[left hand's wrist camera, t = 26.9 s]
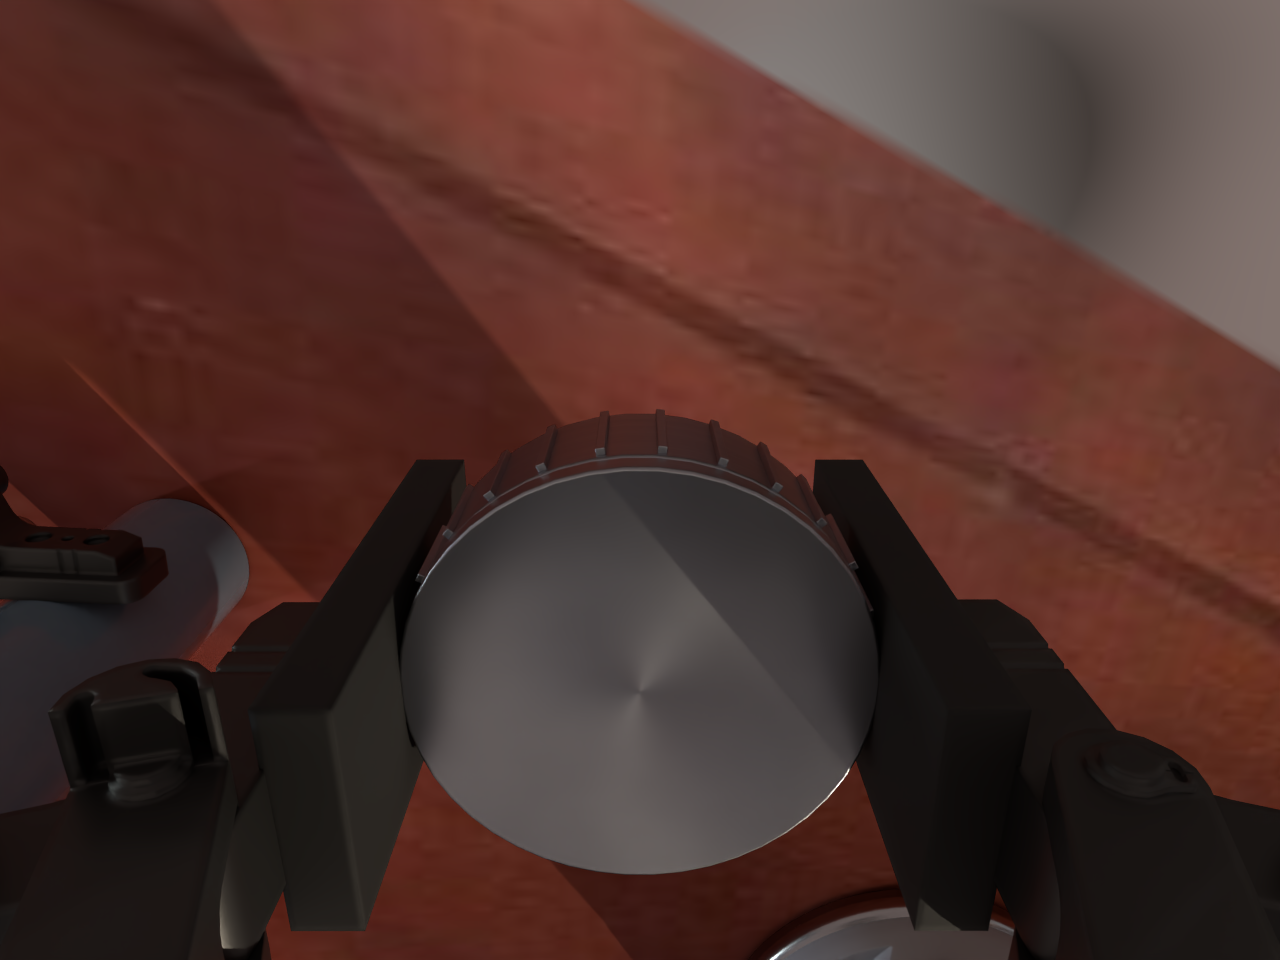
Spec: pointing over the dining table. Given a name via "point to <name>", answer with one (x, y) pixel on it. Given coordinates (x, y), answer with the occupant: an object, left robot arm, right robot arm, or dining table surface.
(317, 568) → the dining table surface
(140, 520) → the jar
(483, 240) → the dining table surface
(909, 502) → the dining table surface
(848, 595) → the lid
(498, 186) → the dining table surface
